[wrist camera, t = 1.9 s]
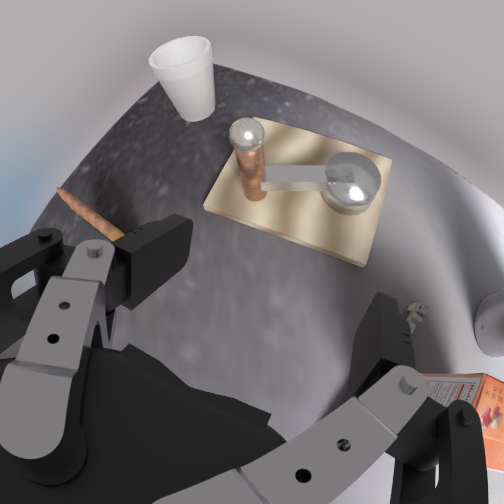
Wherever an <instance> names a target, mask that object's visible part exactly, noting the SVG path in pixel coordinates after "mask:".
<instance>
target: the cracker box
mask: <svg viewBox="0 0 504 504" xmlns="http://www.w3.org/2000/svg"><path fill="white" fill-rule="evenodd" d="M420 374H421V375H422V376H423V377H424V379H425V380H426V382H427V384H428V388H429V394H428V396H429V397H430V398H432V399H433V400H435V401H437V402H438V403H440V404H442V405H443V406H445V407H447V406H448V405H449V404H450V403H451V402H453V401H454V400H457V399H460V400H464V401H467V402H468V403H470V404H471V405H472V406H473V407H474V408H475V409H476V411H477V412H478V414H479V417H480V421H481V426H482V433H483V440H484V447H485V455H486V465H487V470H492V471H497V472H502V473H504V382H502V381H500V380H498V379H496V378H494V377H492V376H490V375H488V374H485V373H476V374H424V373H420Z"/></svg>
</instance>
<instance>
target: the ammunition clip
mask: <svg viewBox="0 0 504 504" xmlns="http://www.w3.org/2000/svg"><path fill="white" fill-rule="evenodd" d="M57 192H58V193H59V195H60V196H61V198H62V199H63V200H64V201H65V202H66V203H67V204H68V205H69V206H70V207H71V209H72V210H74V211H75V212H76V213H77V214H78V215H79V216H80V217H81V218H82V219H83V220H84V221H86V222H87V223H88V224H89V225H91V226H92V227H93V228H94V229H96V230H97V231H98V232H99V233H101V234H102V235H103V236H105V237H106V238H107V239H108V240H110V241H111V242H113V241H115V240H116V239H118V238H120V237H122V236H124V235H126V234H125V233H124V232H122V231H121V230H120V229H118V228H117V227H115V226H114V225H113V224H111V223H110V222H109V221H107V220H106V219H104V218H103V217H102V216H100V215H99V214H98V213H96V212H95V211H94V210H92V209H91V208H89V207H88V206H87V205H86V204H84V203H83V202H81V201H80V200H79V199H78V198H75V197H74V196H73V195H71V194H70V193H69V192H68V191H66V190H64V189H62V188H59V187H57Z"/></svg>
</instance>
